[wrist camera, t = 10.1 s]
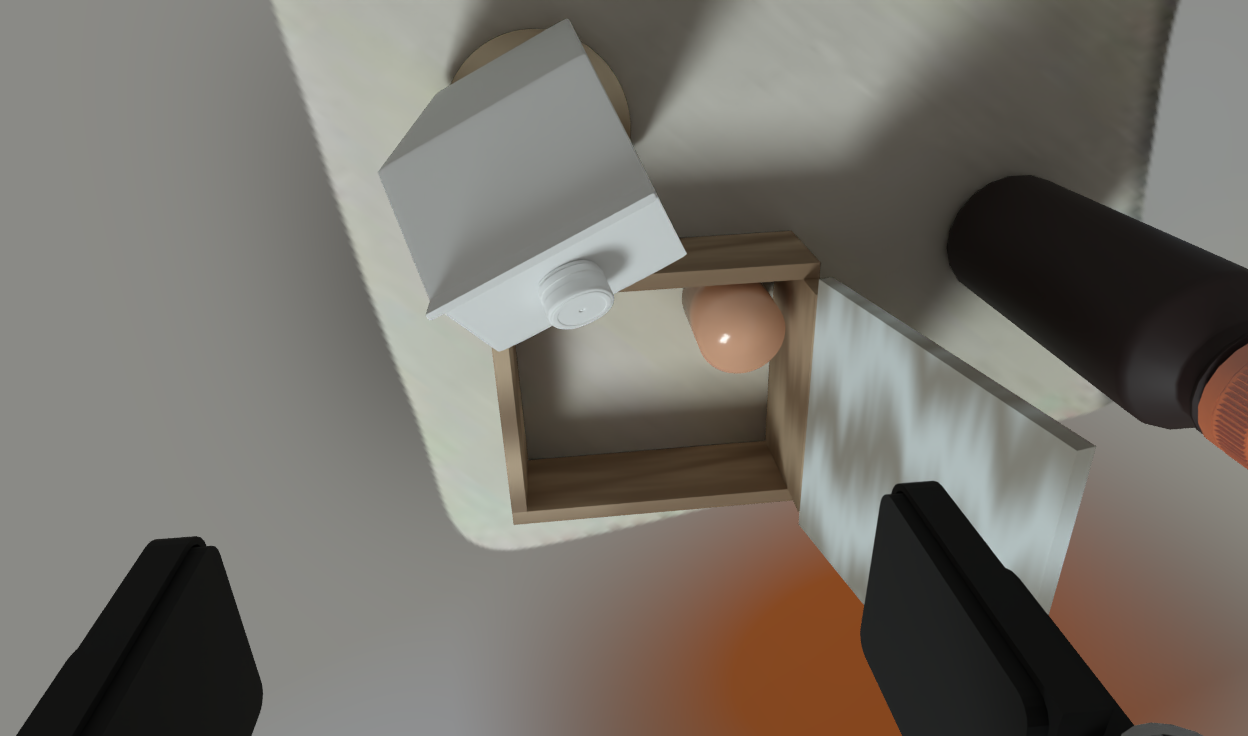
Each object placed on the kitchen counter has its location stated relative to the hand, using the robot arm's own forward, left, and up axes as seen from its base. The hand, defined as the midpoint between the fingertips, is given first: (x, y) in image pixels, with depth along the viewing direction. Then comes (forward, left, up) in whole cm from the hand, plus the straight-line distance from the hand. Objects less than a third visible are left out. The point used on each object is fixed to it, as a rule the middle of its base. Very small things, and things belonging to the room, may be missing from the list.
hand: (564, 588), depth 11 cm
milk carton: (-1, 0, -31) cm, 31 cm away
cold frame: (+12, +6, -31) cm, 34 cm away
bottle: (+6, +25, -32) cm, 41 cm away
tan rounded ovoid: (+9, +9, -32) cm, 34 cm away
